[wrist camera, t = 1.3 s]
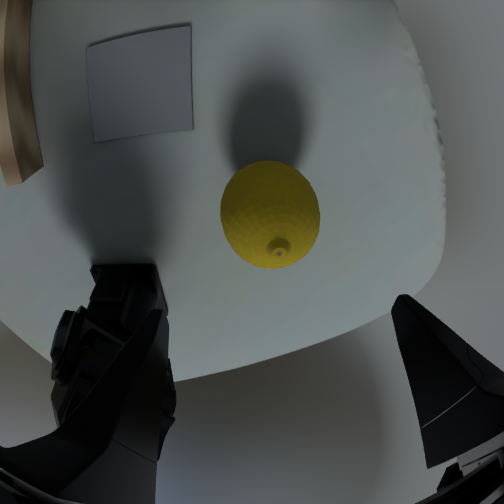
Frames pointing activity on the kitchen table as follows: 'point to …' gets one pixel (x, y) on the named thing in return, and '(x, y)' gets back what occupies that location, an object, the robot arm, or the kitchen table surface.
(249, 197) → the lemon
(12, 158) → the l-shaped wooden corner
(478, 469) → the robot arm
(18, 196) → the kitchen table surface
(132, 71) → the mat
